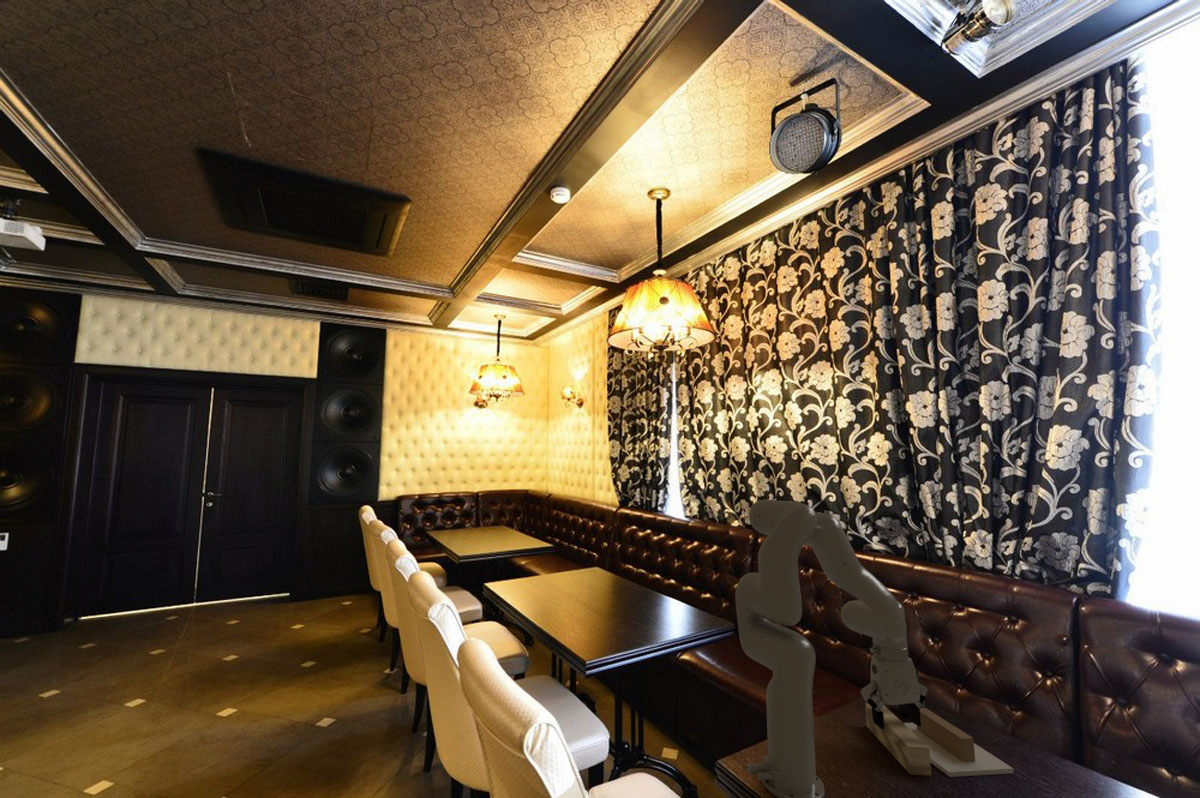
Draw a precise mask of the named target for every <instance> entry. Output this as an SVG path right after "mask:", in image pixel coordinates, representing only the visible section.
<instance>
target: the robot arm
mask: <svg viewBox="0 0 1200 798" xmlns="http://www.w3.org/2000/svg"><path fill="white" fill-rule="evenodd" d="M748 519H749V522H750V524H751V526H752V528H753V529H754V530H755V531H756V532H758V533H759V534H761V535H765V536H767V537H765V539H764V541H763V542H762V543H761V545H760V548H759V551H758V555H757V556H758V557H757V565H758V572H748V573H746V574H744V575H743V576H741V577H740V579H739V581H738V582H737V585H736V588H735V594H734V595H735V609H736V611H735V612H736V618H737V628H738V634H739V635H738V637H739V641H740V645H741V648H742V650H743V652H744V653H745V655H747V657H748V658H750V659H751V660H753V661H755V662H757V663H759V664H761V665H762V666H765V667H766V668H768V669H769V670H771V671H772V678H771V680H770V681H769V683H768V685H767V688H766V692H765V693H766V694H765V695H766V696H765V699H766V702H765V703H766V722H767V723H766V724H767V725H766V727H767V728H766V729H767V731H766V733H767V755H763V761H760V762H759V763H755V762H754V763H747V764H746V771H747V774H748V775H749V776H755V775H757V779H758V781H759V782H762V784H763V785H764V787H765V789H766V790H767V791H769V792H770V793H771V794H772V795H773V796H774V797H776V798H825V794H826V793H825V785H824V782H823V781H822V780H821V778H820V777H819V776H818V775H816V774H817V773H816V771H817V769H816V753H815V752H816V751H815V748H816V745H815V727H814V725H815V724H814V709H813V708H814V707H813V684H814V675H815V670H816V659H817V657H816V652H815V648H814V646H813V644H812V643H811V642H810V641H809V640H808V638H806V637H805V636H803V635H802V634H800V633H799V632H797V631H795V630H792V629H789V628H787V627H791V626H795V625H797V624H798V623H799V622H800V620H801V618H802V616H803V603H802V594H801V585H800V577H799V576H800V575H799V568H798V567H799V564H798V563H799V562H798V561H799V556H800V552H801V551H802V548H803V547H804V546H809V547H810V548H811V549H812V551H813V553H814V554H815V557H816V558H817V560H818V562H819V564H820V566H821V568H822V571H823V572H824V574H825V576H826V578H827V579H828V580H829V581H830V582H832V583H833V584H834V585H835V586H837V587H839V588H840V589H841V590H843V591H845V592H846V593H848V594H850V595H851V596H853V597H855V598H856V600H849V601H848V602H846V603H844V605H843V606H842V607H841V610H840V617H841V621H842V623H843V624H844V625H845V627H847V628H848V629H850V630H851V631H853V632H855V633H859V634H862V635H864V636H866V637H871V638H872V647H869V651H870V654H872V656H871V661H870V662H871V663H870V683H868V684H867V685H866V686H864V687H862V688H861V689H860V694H861V696H862V697H863V700H864V701H865V702H866V703H868V704H869V705H870V706H871V707H872V719H873V722H874V724H876V725H877V726H878V727H879V728H881V729H884V728H885V727H884V715H883V712H882V711H881V709H882V707H883V706H885V705H888V706H893V705H896V706H897V705H898V704H908V714H909V716H908V720H909V721H910V723H914V724H915V725H917V726H921V717H920V709H921V708H922V703H923V702H924V703H925V701H926V696H927V693H928V687H926V685H924V684H923V685H921V684H919V683H918V680H917V675H916V671H915V668H916V667H915V665H914V662H913V660H912V658H911V657H909V648H908V647H909V646H908V639H907V638H908V636H907V635H908V634H907V629H908V628H907V623H906V613H905V608H904V605H903V604H902V603H901V602H900V601H897V599H896V597H895V596H894V595H893V593H892V592H891V591H890V590H889V589H888V588H887V587H886V585H884V584H883V583H882V581H880V580H878V579H877V578H876V577H875V576H874V575H873V574H872V573H871V572H870V571H868V570H867V569H866V568H865V567H864V566H863V565H862V564H861V562H860V561H859V558H858V556H857V554H856V553H855V550H854V548H853V546H852V544H851V543H850V540H849V538H848V536H847V535H846V533H845V530H844V527H843V526H842V524H841V522H840V520H838V518H837V517H835V516H833V515H832V514H830V513H825V512H816V511H815V510H814V509H813V508H812V507H811V505H808V504H805V503H802V502H797V501H790V500H778V499H777V500H775V499H760V500H757V501H755V502H753V504H752V505H751V507H750V509H749V513H748ZM914 667H915V668H914ZM871 694H872V697H871Z"/></svg>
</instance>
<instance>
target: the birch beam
mask: <svg viewBox="0 0 1200 798" xmlns="http://www.w3.org/2000/svg"><path fill="white" fill-rule="evenodd" d="M864 705H865V716H866V718H865V721H866V727H867V728H868V729H869V731H870V732H871V733H872V734H873V735H874V736H875V737H876V738H877V739H878V741H879V742H880V743H881V744H882V745H883V746H884V748H886V750H888V751H889V753H891V755H892V756H893V757H894V758H895V760H897V761H898V762H899V764H900V765H901V766H902V767H903V768H904V769H905V770H906V771H907V773H908V774H909V775H914V776H915V775H916V776H926V777H927V776H928V777H931V776H932V767H931V766H932V765H931V764H932V763H931V762H930V750H929V747H928V746H927V745H926V744H925V743H924V742H923V741H922V740H921V739H920V738H918V737H917V736H916V735H915V734H914V733H913V732H912V731H911V730H910V729H909V728H908V727H907V726H906V725H905V724H904V723H905V722H902V721H901V720H900V718H898V717H897V716H896V715H895V714H894V713H893V712H892V711H891V710H890V709H889V708H888V707H886V705H884V706H883V707H882V709H881V711H882V712H883V715H884V727H885V728H884V729H881V728H879V727H878V726H877V725H876V724H874V722H873V719H872V707H871V706H870V705H869V704H868V703H867V702H866V703H865V704H864Z"/></svg>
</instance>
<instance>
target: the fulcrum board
mask: <svg viewBox="0 0 1200 798" xmlns="http://www.w3.org/2000/svg"><path fill="white" fill-rule="evenodd" d="M920 717H921V726H917V725H915V724H914V723H913V722H903V723H904V724H905V725H906V726H907V727H908V728H909V729H910V730H911V731H912V732H913V733H914V734H915V735H916V736H917V737H918V738H920V739H921V740H922V741H923V742H924V743H925V744H926V745H927V746H928V747H929V750H930V763H931V764H932V765H933V766H935V768H937V769H938V770H939V771H941V772H942V773H943V774H945V775H946V776H948V777H949V778H952V777H953V778H955V777H970V776H971V777H973V776H974V777H975V776H988V775H989V776H990V775H1007V774H1010V775H1011V774H1014V773H1015V772H1014V767H1011V766H1010V765H1009V764H1007V763H1005V762H1004V761H1003V760H1001V759H999V758H998V757H996V756H995V755H993V754H992V753H990V752H989V751H986V750H985V749H984V748H982V747H981V746H979V745H977V744H976V743H975V740H974V737H973V736H971V735H969V734H967V733H966V732H965V731H963V730H962V729H960V728H958V727H957V726H955V725H953V724H952V723H950V722H949V721H947V720H945V719H944V718H942V717H941V716H939V715H938V714H936V713H934V712H933V711H932V710H930V709H928V708H926V707H925V708H921V709H920Z"/></svg>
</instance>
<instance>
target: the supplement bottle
mask: <svg viewBox="0 0 1200 798" xmlns="http://www.w3.org/2000/svg"><path fill="white" fill-rule="evenodd" d="M914 668H915V671H916V675H917V680H918V683H919V684H921V685H923V686H924V684H923V681H922V680H921V679H920V678H919V676H920V675H919V670H918V668H917V667H916V666H914ZM925 705H926V704H925V701H924V702H923V703H922V708H926V706H925ZM896 709H897V711H898V713H901V715H903V716H907V717H909V714H908V704H898V705H896Z"/></svg>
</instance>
